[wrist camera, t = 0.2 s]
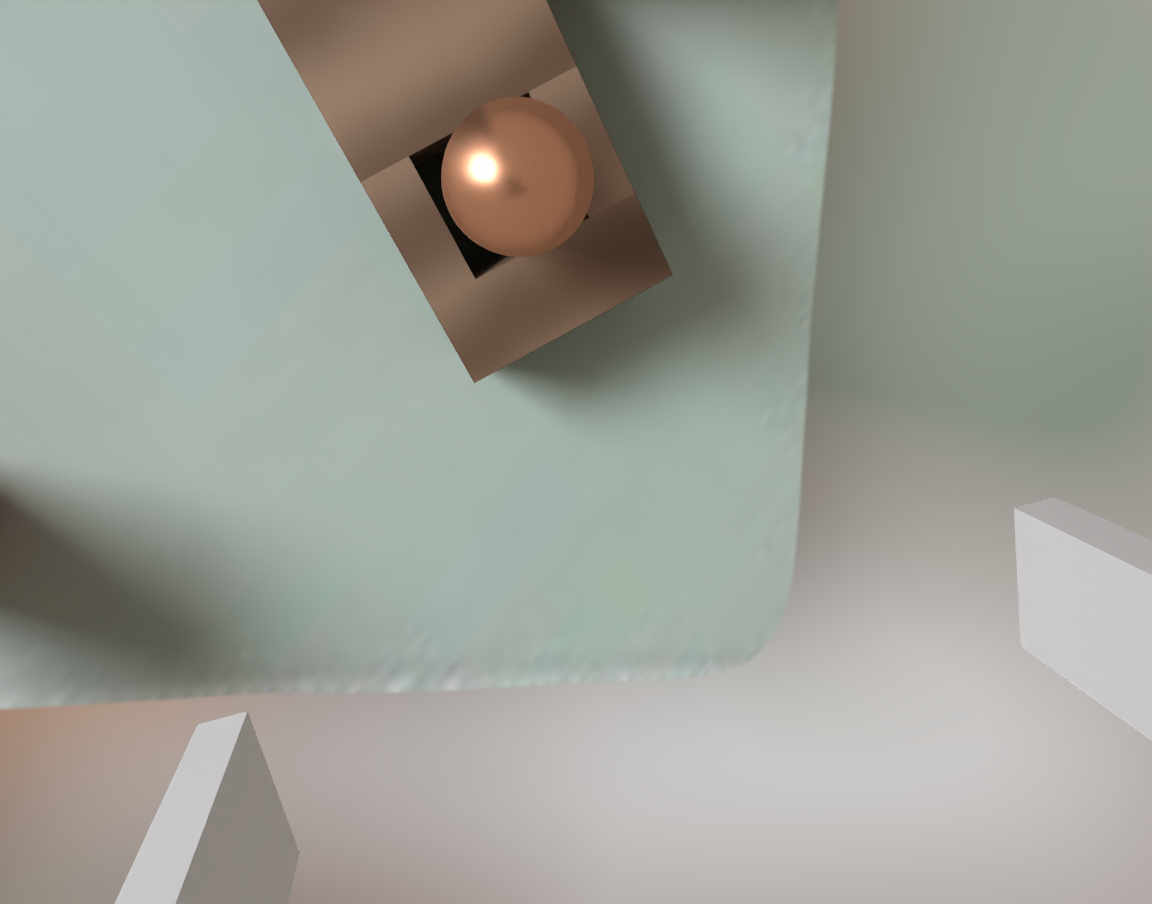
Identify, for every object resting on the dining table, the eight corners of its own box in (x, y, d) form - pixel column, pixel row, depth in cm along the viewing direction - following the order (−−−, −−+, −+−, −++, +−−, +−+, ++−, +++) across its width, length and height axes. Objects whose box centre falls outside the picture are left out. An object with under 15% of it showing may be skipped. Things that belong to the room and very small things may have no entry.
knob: (416, 159, 31) (412, 142, 24) (525, 101, 31) (550, 68, 24) (476, 271, 32) (488, 283, 26) (580, 215, 33) (619, 213, 26)
